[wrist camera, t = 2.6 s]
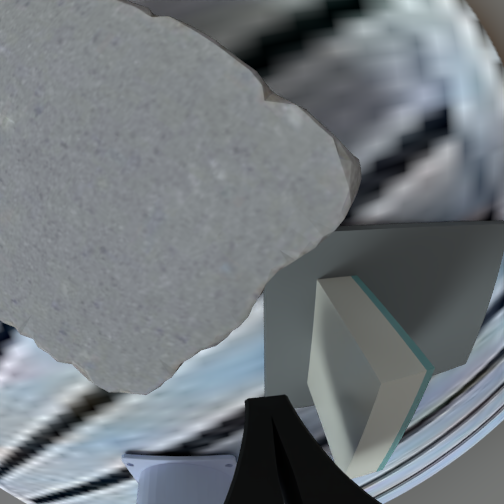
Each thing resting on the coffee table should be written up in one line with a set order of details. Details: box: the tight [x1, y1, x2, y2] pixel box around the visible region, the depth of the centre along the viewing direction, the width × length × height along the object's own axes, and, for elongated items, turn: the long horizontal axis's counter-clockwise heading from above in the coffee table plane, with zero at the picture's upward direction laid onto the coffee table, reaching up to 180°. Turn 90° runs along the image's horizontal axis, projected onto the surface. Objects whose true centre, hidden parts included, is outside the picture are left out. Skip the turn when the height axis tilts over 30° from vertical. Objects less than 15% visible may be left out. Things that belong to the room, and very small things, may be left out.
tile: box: [307, 275, 435, 479], centre depth 11 cm, size 6×2×6 cm, turn 2°
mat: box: [264, 220, 504, 409], centre depth 14 cm, size 10×14×1 cm
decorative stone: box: [0, 0, 361, 395], centre depth 7 cm, size 15×7×10 cm
